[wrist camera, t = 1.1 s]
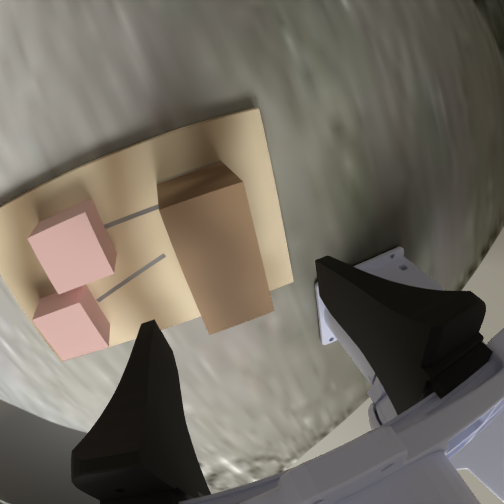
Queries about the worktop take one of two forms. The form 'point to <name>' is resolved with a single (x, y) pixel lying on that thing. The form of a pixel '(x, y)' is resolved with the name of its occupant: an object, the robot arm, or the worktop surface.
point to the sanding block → (215, 244)
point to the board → (145, 221)
